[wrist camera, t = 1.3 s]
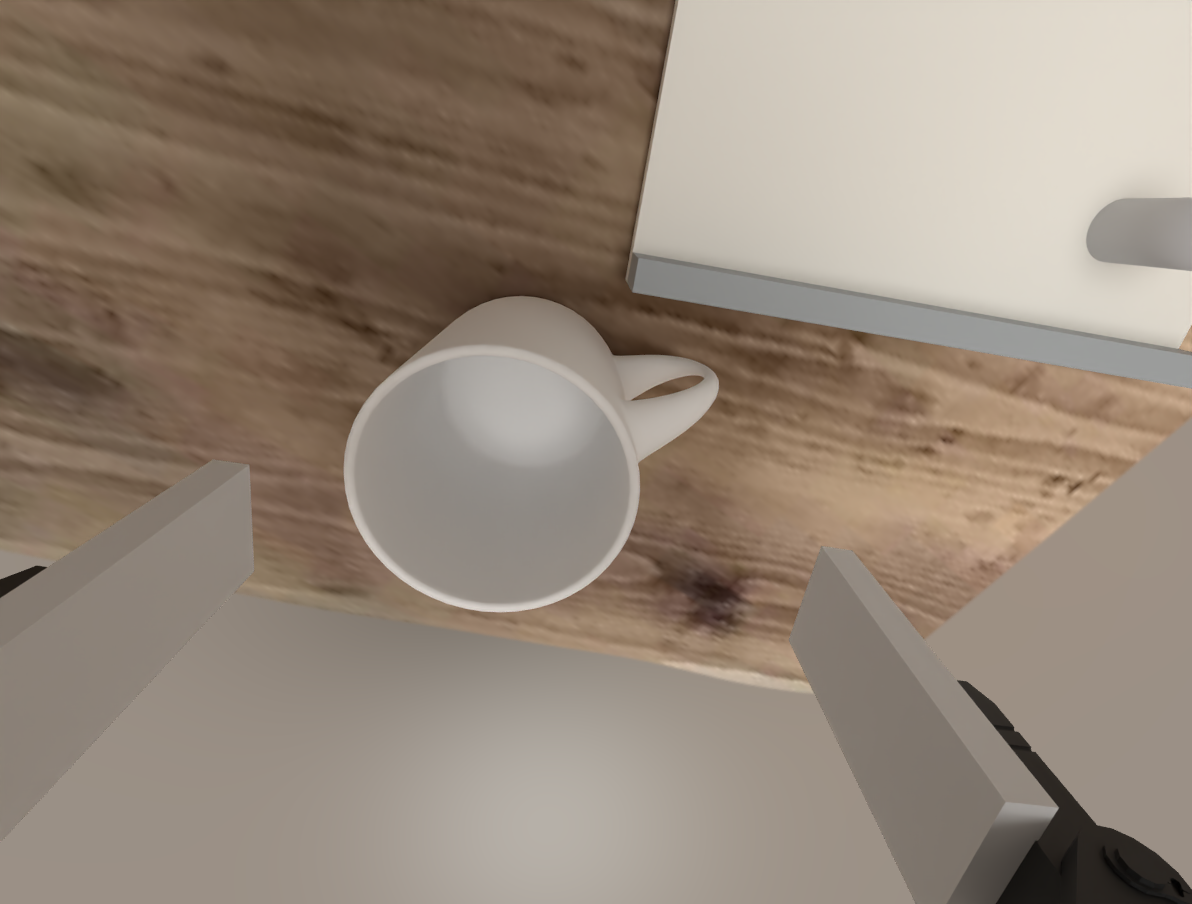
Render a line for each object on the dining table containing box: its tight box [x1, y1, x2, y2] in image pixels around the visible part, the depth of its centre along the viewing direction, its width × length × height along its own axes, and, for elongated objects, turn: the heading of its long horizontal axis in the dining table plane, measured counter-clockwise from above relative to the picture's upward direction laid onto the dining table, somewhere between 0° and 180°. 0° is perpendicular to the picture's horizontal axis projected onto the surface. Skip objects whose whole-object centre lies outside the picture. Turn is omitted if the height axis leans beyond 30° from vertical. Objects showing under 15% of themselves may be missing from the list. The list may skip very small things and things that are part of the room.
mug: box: [344, 296, 719, 612], centre depth 22 cm, size 9×12×11 cm
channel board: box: [625, 0, 1192, 388], centre depth 19 cm, size 20×24×7 cm
